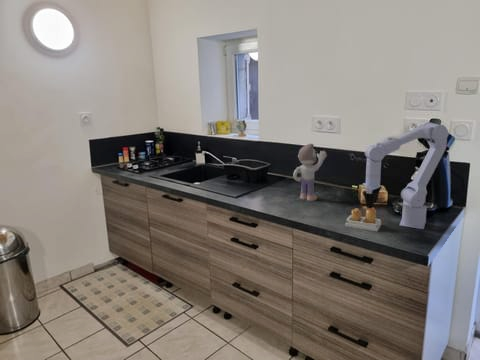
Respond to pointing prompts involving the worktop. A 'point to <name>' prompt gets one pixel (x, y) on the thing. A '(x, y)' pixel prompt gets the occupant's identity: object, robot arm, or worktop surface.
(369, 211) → the peg
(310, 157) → the toy
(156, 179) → the worktop surface
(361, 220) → the housing
